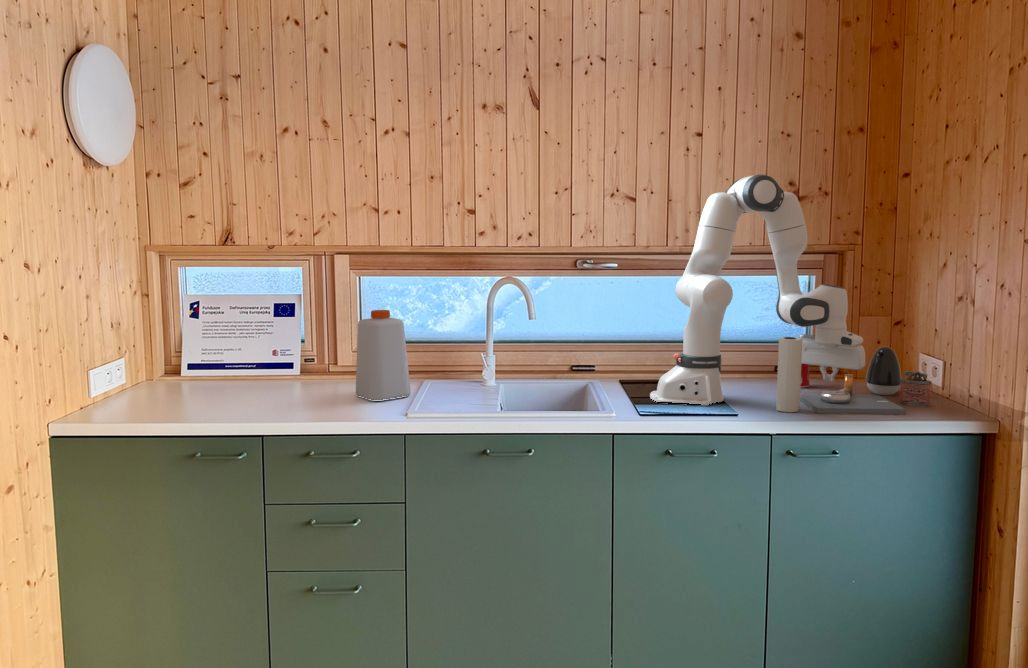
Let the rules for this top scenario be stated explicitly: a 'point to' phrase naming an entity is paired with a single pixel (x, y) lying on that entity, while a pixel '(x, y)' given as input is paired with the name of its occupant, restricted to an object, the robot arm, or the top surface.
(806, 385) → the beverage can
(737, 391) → the top surface
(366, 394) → the plastic bottle
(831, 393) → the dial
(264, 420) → the top surface
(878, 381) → the black egg-shaped dome
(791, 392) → the paper towel roll
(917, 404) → the brown textured block
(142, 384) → the top surface
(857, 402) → the slate board
